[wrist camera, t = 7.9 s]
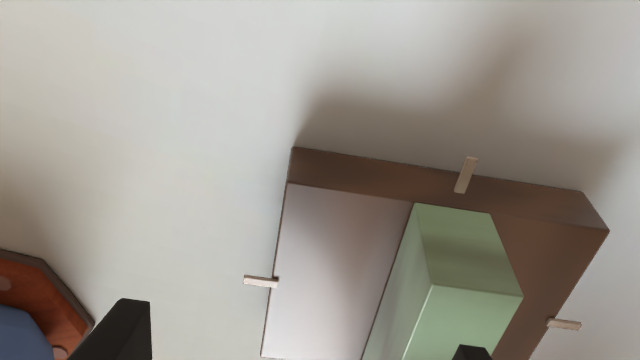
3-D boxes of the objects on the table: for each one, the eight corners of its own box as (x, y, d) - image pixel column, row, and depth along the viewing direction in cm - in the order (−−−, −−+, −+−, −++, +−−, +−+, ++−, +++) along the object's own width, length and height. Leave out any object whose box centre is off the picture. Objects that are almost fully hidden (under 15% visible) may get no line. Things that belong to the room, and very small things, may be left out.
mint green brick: (414, 201, 17) (433, 289, 14) (490, 213, 18) (527, 303, 14) (357, 371, 23) (360, 465, 19) (415, 379, 23) (429, 473, 20)
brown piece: (635, 151, 19) (675, 191, 17) (501, 373, 27) (516, 420, 25) (269, 91, 18) (259, 125, 16) (241, 339, 26) (232, 384, 24)
